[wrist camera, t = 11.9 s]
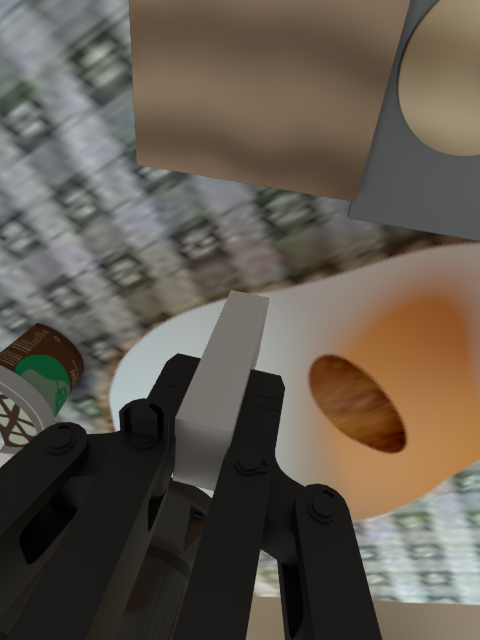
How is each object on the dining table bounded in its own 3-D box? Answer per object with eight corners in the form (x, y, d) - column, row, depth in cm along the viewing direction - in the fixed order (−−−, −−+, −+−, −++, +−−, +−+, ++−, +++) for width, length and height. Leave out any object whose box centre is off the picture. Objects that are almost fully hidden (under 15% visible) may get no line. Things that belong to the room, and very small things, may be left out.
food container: (98, 401, 52) (52, 469, 44) (52, 390, 53) (0, 455, 45) (87, 324, 45) (30, 389, 37) (34, 312, 45) (-33, 374, 37)
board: (354, 190, 31) (355, 202, 29) (150, 155, 33) (137, 164, 31) (437, -119, 21) (446, -133, 19) (140, -143, 23) (120, -159, 21)
